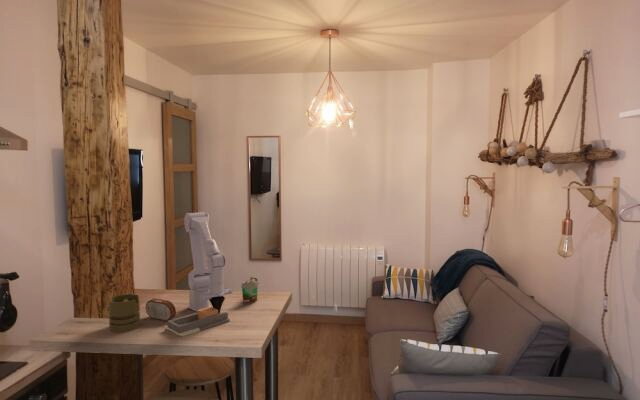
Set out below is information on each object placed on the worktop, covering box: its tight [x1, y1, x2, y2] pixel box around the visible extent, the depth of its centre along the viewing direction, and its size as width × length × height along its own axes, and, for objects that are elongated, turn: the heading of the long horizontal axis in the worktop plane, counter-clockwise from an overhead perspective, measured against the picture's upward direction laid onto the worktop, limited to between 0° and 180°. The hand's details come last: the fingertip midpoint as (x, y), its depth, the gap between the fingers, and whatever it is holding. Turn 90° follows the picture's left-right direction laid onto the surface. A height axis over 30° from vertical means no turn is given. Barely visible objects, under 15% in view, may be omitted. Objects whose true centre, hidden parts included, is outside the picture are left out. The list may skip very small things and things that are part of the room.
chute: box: [165, 311, 230, 337], centre depth 174 cm, size 12×22×4 cm, turn 136°
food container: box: [241, 276, 260, 304], centre depth 204 cm, size 12×6×10 cm, turn 168°
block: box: [198, 306, 218, 320], centre depth 177 cm, size 6×6×4 cm
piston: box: [108, 293, 141, 333], centre depth 171 cm, size 11×12×11 cm
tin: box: [145, 297, 177, 322], centre depth 180 cm, size 15×3×8 cm, turn 65°
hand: (217, 313), depth 180 cm, fingers closed
